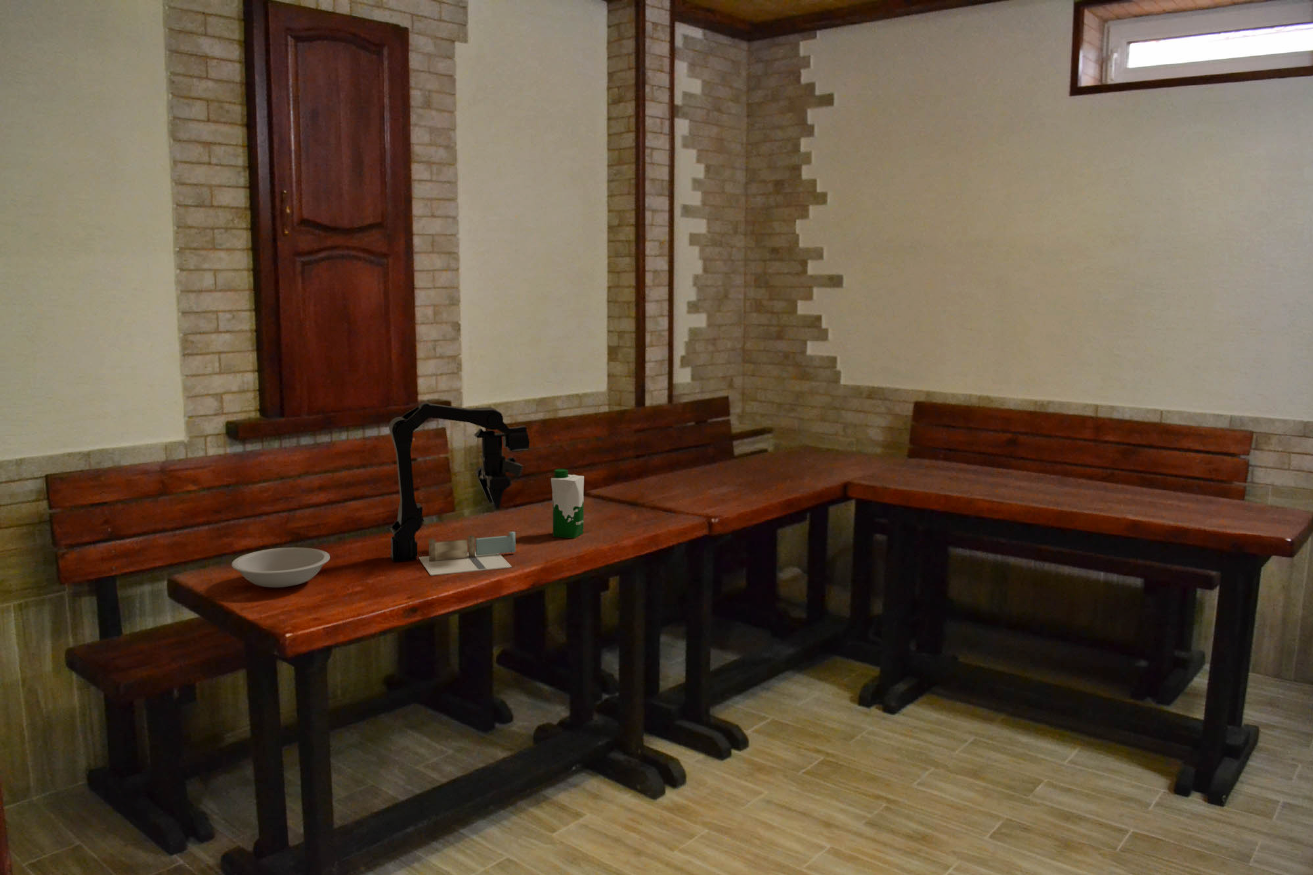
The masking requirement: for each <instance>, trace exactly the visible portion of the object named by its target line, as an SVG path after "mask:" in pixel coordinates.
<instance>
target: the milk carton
mask: <svg viewBox="0 0 1313 875" xmlns="http://www.w3.org/2000/svg"><path fill="white" fill-rule="evenodd" d="M550 483H551V484H550V485H551V489H552V490H551V491H552V537H553V538H562V539H563V538H565V539H576V538H578V537H579V536H581V535H583V534H584V527H585V526H584V523H585V522H584V521H585V520H584V519H585V518H584V512H585V511H584V509H585V508H584V507H585V506H584V502H585V501H584V497H585V496H584V486H585V476H584V475H577V474H569V470H568V469H566V468H557V469H554V476H553V477H551V478H550Z"/></svg>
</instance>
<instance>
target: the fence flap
mask: <svg viewBox="0 0 1313 875" xmlns="http://www.w3.org/2000/svg"><path fill="white" fill-rule="evenodd" d="M475 552H476V555H488V554H498V553H499V554H507V553H515V552H517V551H516V532H515V531H509V532H508V535H501V536H500V535H499V536H490V537H479V538H478V537H477V538H475Z"/></svg>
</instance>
